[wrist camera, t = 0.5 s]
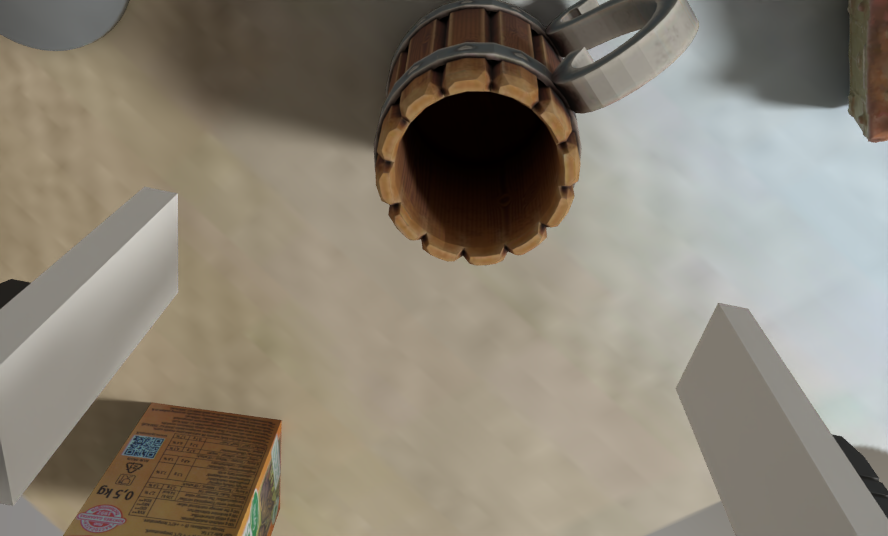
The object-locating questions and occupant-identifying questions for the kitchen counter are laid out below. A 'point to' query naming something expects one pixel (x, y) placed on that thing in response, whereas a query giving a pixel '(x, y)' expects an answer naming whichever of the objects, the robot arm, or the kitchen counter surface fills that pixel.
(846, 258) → the kitchen counter surface
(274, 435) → the milk carton
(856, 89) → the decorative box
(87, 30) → the coaster
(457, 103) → the mug
